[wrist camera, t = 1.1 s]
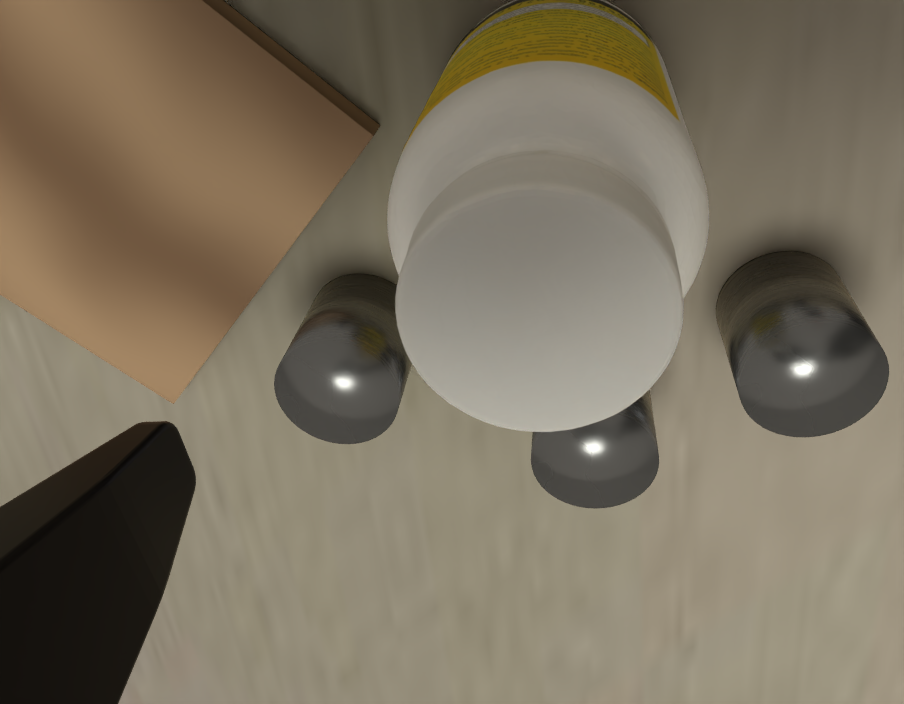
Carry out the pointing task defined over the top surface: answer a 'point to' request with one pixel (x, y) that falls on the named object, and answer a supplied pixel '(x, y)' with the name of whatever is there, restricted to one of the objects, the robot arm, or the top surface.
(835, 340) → the grey rounded cylinders
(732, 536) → the top surface
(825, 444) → the top surface
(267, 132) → the tan square slab
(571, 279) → the supplement bottle
